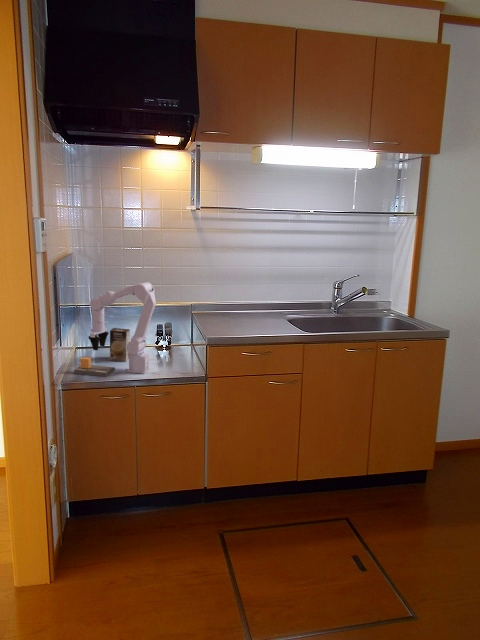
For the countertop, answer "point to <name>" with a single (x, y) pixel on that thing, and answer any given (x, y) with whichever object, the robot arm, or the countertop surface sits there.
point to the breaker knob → (85, 362)
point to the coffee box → (119, 344)
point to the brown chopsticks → (104, 366)
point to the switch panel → (94, 371)
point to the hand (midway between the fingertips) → (99, 348)
